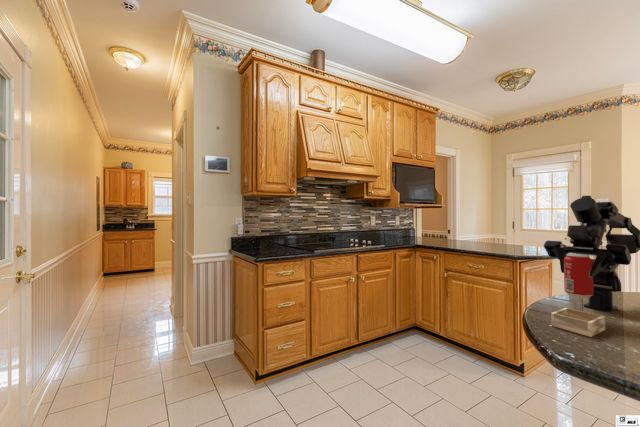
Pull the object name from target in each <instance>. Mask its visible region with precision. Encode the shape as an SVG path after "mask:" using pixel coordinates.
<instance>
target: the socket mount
mask: <svg viewBox="0 0 640 427" xmlns="http://www.w3.org/2000/svg"><path fill="white" fill-rule="evenodd" d="M550 322H551V323H550V326H551V327H555V328H558V329H561V330H565V331H568V332H573V333H576V334H579V335H583V336H587V337H589V338H592V337H594V336H596V335H598V334H600V333H602V332H603V331H606V316H605V315H604V316H603V315H600V314H595V313H592V312H588V311H583V310H579V309H578V310H577V309H574V308H570V307H564V308H561V309H559V310H556V311H552V312H550Z"/></svg>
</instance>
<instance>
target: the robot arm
mask: <svg viewBox="0 0 640 427" xmlns="http://www.w3.org/2000/svg"><path fill="white" fill-rule="evenodd" d="M569 205H570V209H571V211H572V213H573V215H574V217H575V219H576V221H577V222H578V223H580V225H571V224H570V225H568V226H567V227H568V228H567V234H566V236H567V237H568V238H569V242H570V244H571V245H566V244H565V243H563V242H562V240H561V241H560V240H546V241H545V242H544V244H543V248H544V249H545V251H546V253H547V255H548V256H549V257H550V258H553V259H554V258H556V259H557V260H559V266H560V271H561V273H562V274H564V258H565V257H566V256H567V254H585V255H589V256H591V257H592V256H593V257H594V256H595V258H594V259H593V258H590V259H591V260H592V261H593V266H592V268H591V271H590V276H591V277H593V295H592V296H591V297H590V298H587V303H585V304H583V307H585V308H590V309H595V310H600V311H604V312H610V313H611V312H613V311H616V310H618V309H619V306H616V305H614V293H617V292H618V293H621V292H622V282H621V280H620V278H619V275H618V273H617V272H616V269H617V268H618V267H619V265H625V266H629V265H631V262H632V255H633V254H637V253H638V252H640V229H639V228H638V227H636V226H635V225H634V224H633V223H632V222H633V221H632V218H631V217H628V216H625V215H624V214H621V213H620V212H619V208H618V207H617V205H615V203H614V202H612V201H598V202H597V201H596V200H595V199H593V198H592V196H591V195H582V196H581V198H577V199H575V200H573V201H572V202H571V203H570V204H569ZM607 225H608V228H609V229H608V231H607ZM613 229H626V230H627V231H628V233H630V234H624V233H623V234H622V233H612V230H613ZM605 233H606V234H605ZM604 234H605V239H606V245H605V248H600V247H601V246H603V243H604V242H603V237H604Z"/></svg>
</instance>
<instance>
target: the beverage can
mask: <svg viewBox="0 0 640 427" xmlns="http://www.w3.org/2000/svg"><path fill="white" fill-rule="evenodd" d="M591 259H592V258H591V257H590V255H585V254H576V253H568V254H567V256H566V257H565V258H564V273H563V284H564V286H563V287H564V293H566V294H567V296H569V297H573V298H577V299H588V298H590V297H591V296H592V295H593V277H591V276H590V271H591V268H592V266H593V261H592V260H591Z"/></svg>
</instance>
